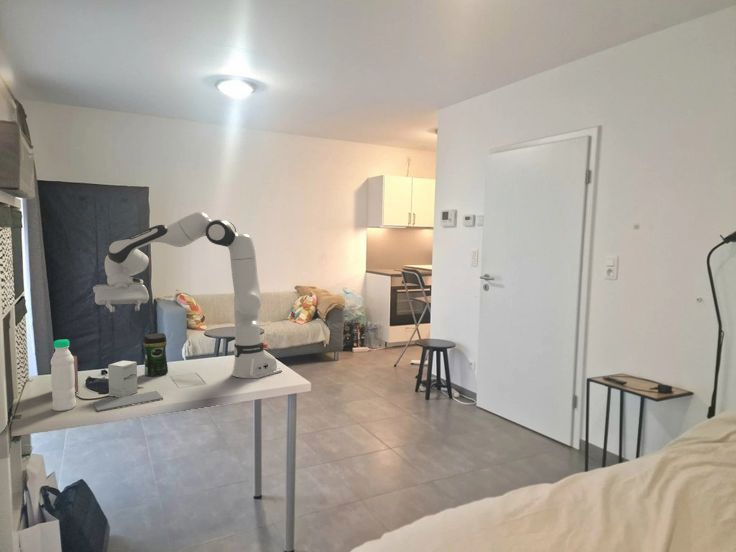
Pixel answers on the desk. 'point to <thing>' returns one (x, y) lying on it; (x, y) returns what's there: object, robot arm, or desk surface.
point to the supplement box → (122, 378)
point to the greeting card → (75, 373)
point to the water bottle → (63, 377)
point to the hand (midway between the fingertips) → (125, 310)
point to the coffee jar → (155, 354)
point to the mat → (127, 400)
